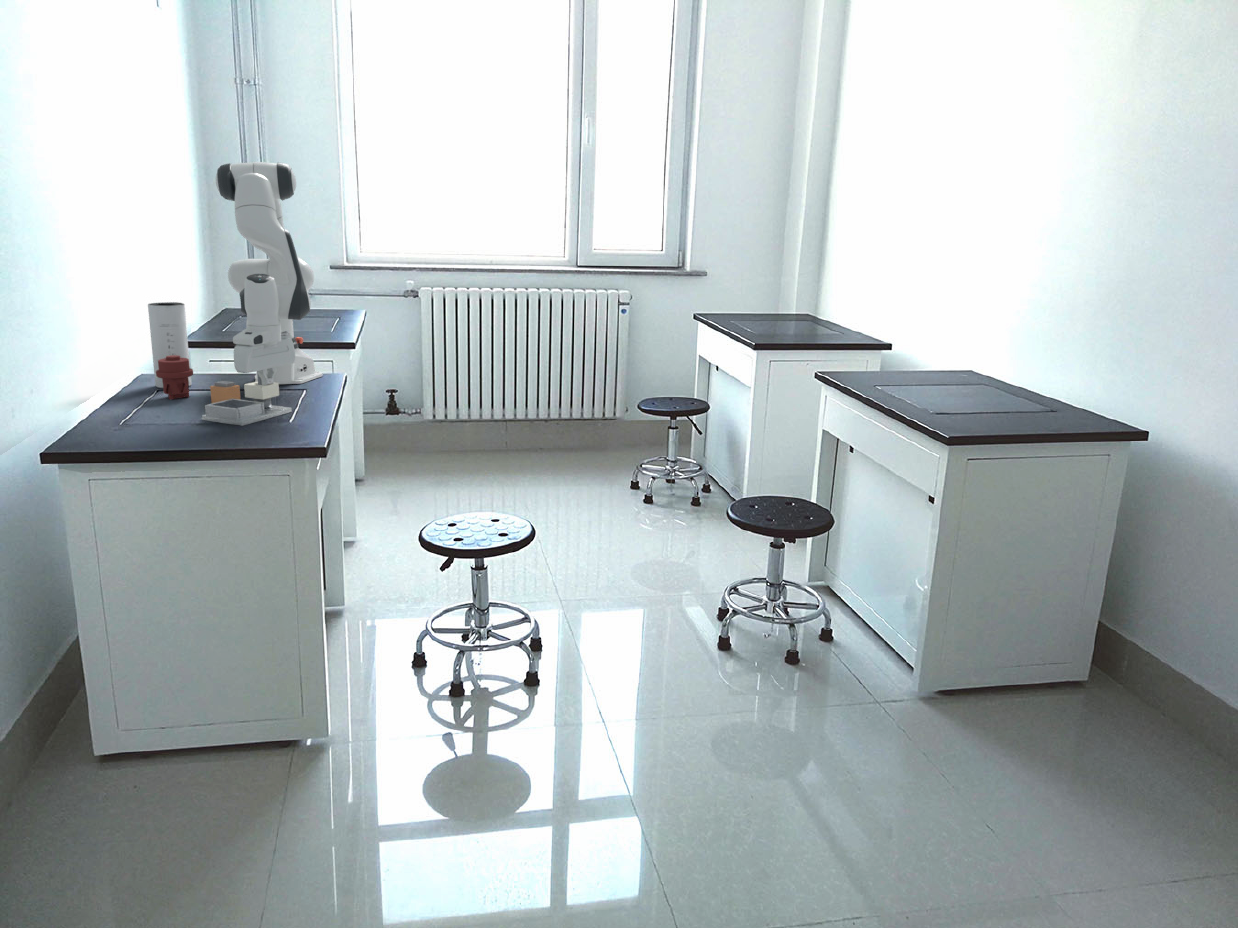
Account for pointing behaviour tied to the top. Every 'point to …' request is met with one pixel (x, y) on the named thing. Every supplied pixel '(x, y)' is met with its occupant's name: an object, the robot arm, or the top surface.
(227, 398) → the block
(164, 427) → the top surface
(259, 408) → the chassis
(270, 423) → the top surface
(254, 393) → the square housing
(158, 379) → the speaker
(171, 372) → the mechanical component
